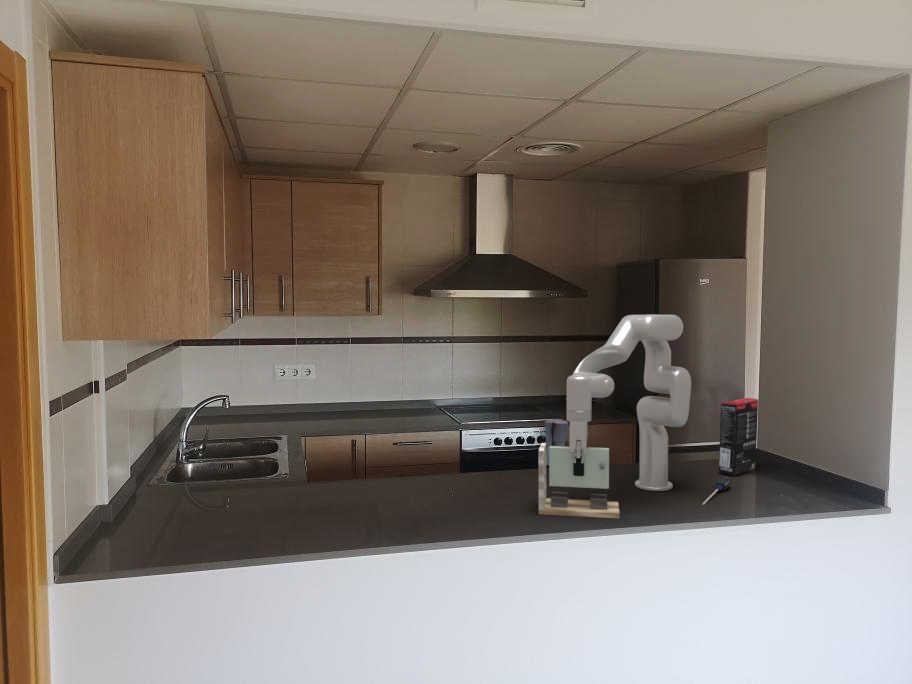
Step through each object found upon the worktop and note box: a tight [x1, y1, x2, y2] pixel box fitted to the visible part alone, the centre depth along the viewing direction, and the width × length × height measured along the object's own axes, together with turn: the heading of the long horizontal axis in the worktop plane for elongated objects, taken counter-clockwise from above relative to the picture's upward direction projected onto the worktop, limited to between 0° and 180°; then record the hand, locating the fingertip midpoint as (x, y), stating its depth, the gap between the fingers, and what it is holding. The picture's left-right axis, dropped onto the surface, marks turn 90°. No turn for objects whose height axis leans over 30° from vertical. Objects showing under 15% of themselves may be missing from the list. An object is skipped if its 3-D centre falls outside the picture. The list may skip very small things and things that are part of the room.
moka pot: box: [544, 414, 570, 467], centre depth 260 cm, size 10×15×20 cm, turn 164°
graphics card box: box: [718, 397, 759, 477], centre depth 247 cm, size 17×7×27 cm, turn 130°
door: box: [548, 446, 610, 490], centre depth 203 cm, size 4×18×12 cm, turn 78°
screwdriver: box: [702, 476, 732, 505], centre depth 218 cm, size 26×4×4 cm, turn 142°
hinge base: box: [537, 442, 621, 520], centre depth 204 cm, size 12×24×20 cm, turn 78°
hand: (578, 473), depth 203 cm, fingers closed on door, 2 cm apart
